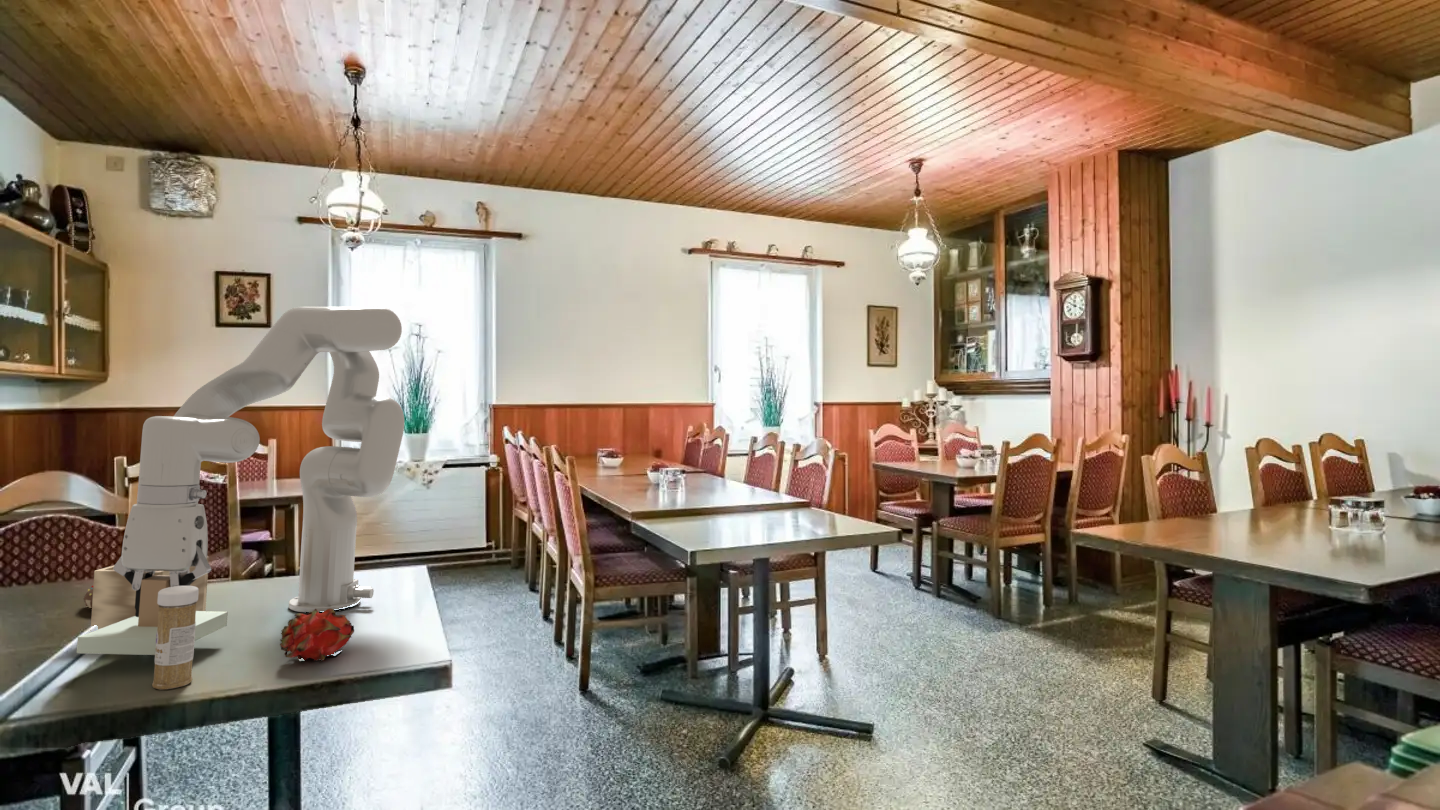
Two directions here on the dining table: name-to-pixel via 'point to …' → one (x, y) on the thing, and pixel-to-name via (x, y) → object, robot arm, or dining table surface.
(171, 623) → the sprinkles bottle
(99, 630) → the lid
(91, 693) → the dining table surface
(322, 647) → the dragon fruit
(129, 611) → the pine box
